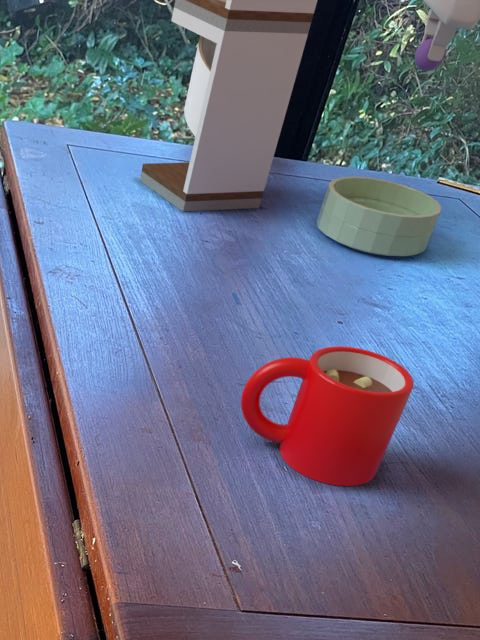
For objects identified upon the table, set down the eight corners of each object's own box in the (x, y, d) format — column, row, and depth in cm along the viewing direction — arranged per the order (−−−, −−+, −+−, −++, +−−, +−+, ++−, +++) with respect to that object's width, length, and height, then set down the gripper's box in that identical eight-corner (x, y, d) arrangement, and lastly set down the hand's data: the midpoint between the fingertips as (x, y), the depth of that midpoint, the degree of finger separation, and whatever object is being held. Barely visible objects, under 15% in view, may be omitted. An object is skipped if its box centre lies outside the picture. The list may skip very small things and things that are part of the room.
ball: (435, 69, 130) (447, 38, 128) (440, 75, 128) (452, 44, 125) (408, 65, 130) (419, 33, 128) (412, 71, 128) (423, 39, 125)
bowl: (414, 228, 126) (430, 187, 123) (433, 267, 116) (451, 224, 113) (310, 211, 126) (323, 169, 123) (321, 249, 116) (335, 205, 113)
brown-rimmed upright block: (213, 178, 132) (295, -158, 108) (259, 207, 125) (357, -144, 101) (139, 180, 128) (208, -169, 104) (182, 211, 121) (267, -155, 97)
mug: (231, 415, 84) (257, 327, 79) (373, 444, 83) (409, 357, 78) (226, 462, 78) (254, 371, 73) (379, 494, 77) (419, 404, 72)
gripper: (523, -60, 111) (470, 78, 120) (484, -82, 126) (440, 43, 135) (466, -69, 111) (418, 70, 120) (435, -89, 126) (394, 35, 135)
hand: (429, 55), depth 128 cm, fingers closed on ball, 3 cm apart
